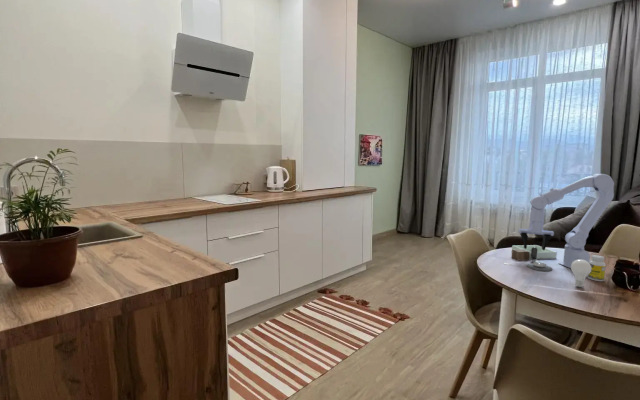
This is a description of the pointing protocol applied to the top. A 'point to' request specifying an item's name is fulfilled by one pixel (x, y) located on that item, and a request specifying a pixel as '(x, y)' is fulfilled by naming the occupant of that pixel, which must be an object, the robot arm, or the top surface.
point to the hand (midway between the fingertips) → (534, 248)
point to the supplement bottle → (597, 268)
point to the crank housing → (536, 267)
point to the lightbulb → (580, 271)
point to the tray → (538, 251)
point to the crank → (534, 259)
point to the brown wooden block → (520, 254)
